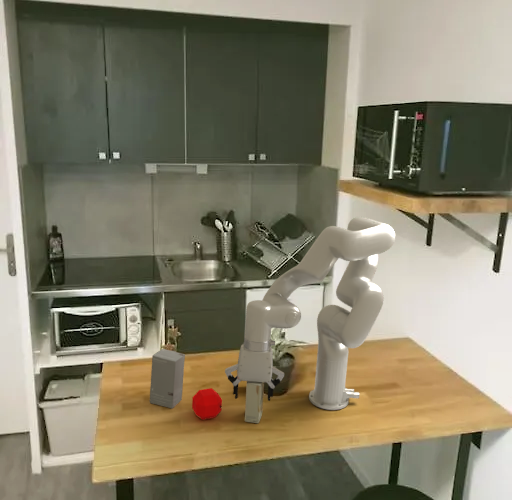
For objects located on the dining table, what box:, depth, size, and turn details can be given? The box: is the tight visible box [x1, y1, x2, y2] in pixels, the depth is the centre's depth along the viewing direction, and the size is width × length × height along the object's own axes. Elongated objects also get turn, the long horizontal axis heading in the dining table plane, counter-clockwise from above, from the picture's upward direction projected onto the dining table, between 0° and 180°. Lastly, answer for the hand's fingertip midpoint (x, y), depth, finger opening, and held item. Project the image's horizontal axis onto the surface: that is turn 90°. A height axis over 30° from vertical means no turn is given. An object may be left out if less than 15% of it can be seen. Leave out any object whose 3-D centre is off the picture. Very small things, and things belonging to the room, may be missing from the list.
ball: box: [191, 387, 223, 421], centre depth 155 cm, size 8×8×8 cm
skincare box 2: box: [244, 381, 265, 424], centre depth 155 cm, size 6×4×12 cm
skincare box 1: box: [149, 348, 186, 409], centre depth 161 cm, size 8×7×16 cm
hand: (252, 397), depth 155 cm, fingers open, 9 cm apart
